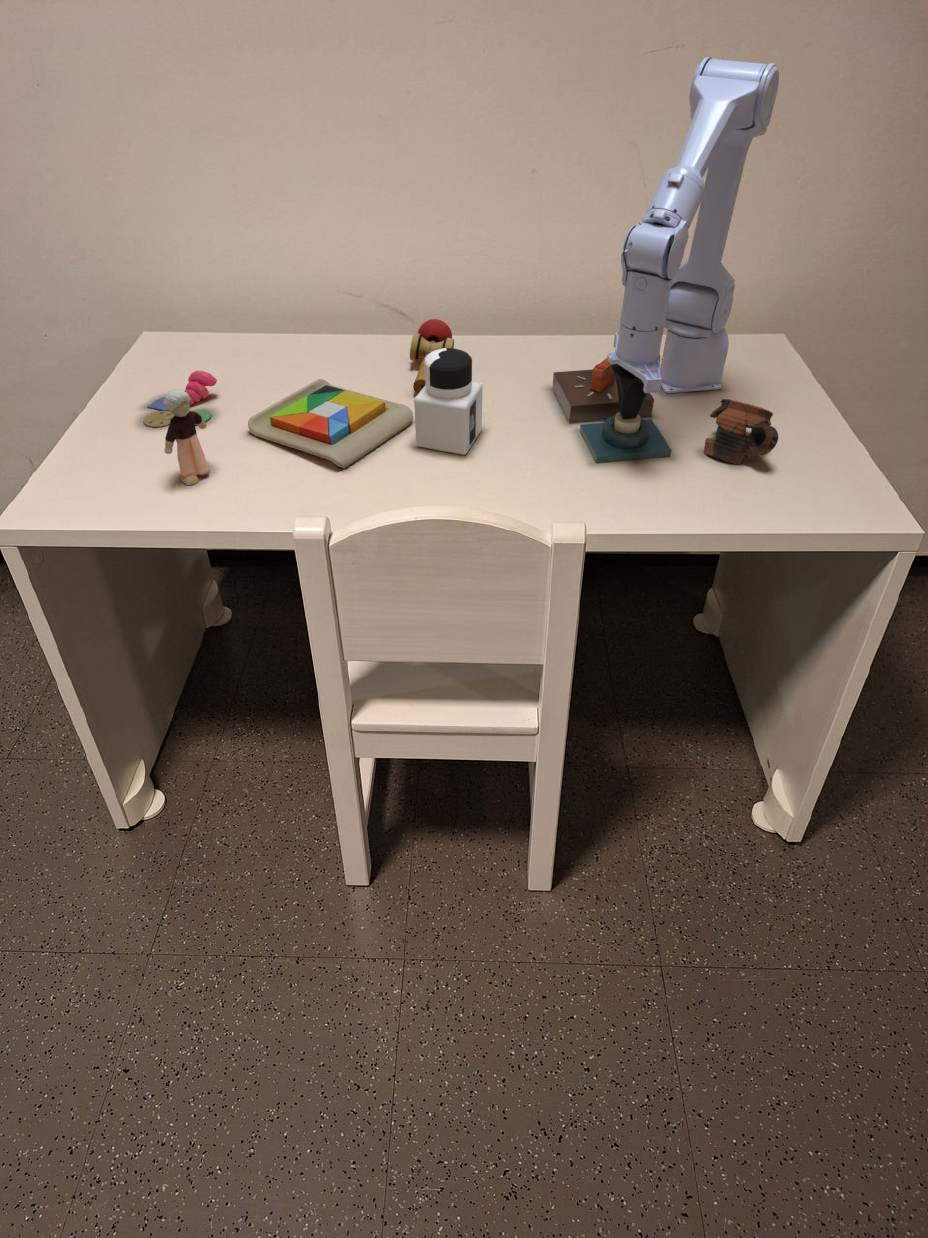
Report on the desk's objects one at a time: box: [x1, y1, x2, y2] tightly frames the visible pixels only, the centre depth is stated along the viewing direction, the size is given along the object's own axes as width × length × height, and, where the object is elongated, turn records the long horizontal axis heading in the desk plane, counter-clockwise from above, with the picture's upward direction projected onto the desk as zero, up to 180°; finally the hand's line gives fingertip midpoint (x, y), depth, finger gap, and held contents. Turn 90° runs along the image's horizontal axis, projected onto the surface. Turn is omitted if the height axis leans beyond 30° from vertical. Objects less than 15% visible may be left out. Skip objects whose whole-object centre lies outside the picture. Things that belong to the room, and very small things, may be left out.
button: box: [614, 412, 642, 434], centre depth 116 cm, size 4×4×2 cm
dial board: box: [551, 368, 655, 424], centre depth 127 cm, size 13×11×3 cm
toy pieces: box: [142, 370, 218, 428], centre depth 125 cm, size 12×11×4 cm
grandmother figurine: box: [163, 389, 211, 486], centre depth 109 cm, size 8×4×13 cm, turn 164°
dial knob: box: [591, 357, 615, 392], centre depth 124 cm, size 5×2×4 cm, turn 144°
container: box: [413, 348, 483, 456], centre depth 116 cm, size 8×8×13 cm
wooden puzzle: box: [247, 378, 414, 469], centre depth 121 cm, size 18×19×4 cm
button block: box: [579, 415, 672, 464], centre depth 118 cm, size 11×9×3 cm
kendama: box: [409, 318, 455, 395], centre depth 134 cm, size 8×6×18 cm
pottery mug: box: [703, 398, 779, 466], centre depth 116 cm, size 12×10×8 cm
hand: (628, 416), depth 116 cm, fingers closed
